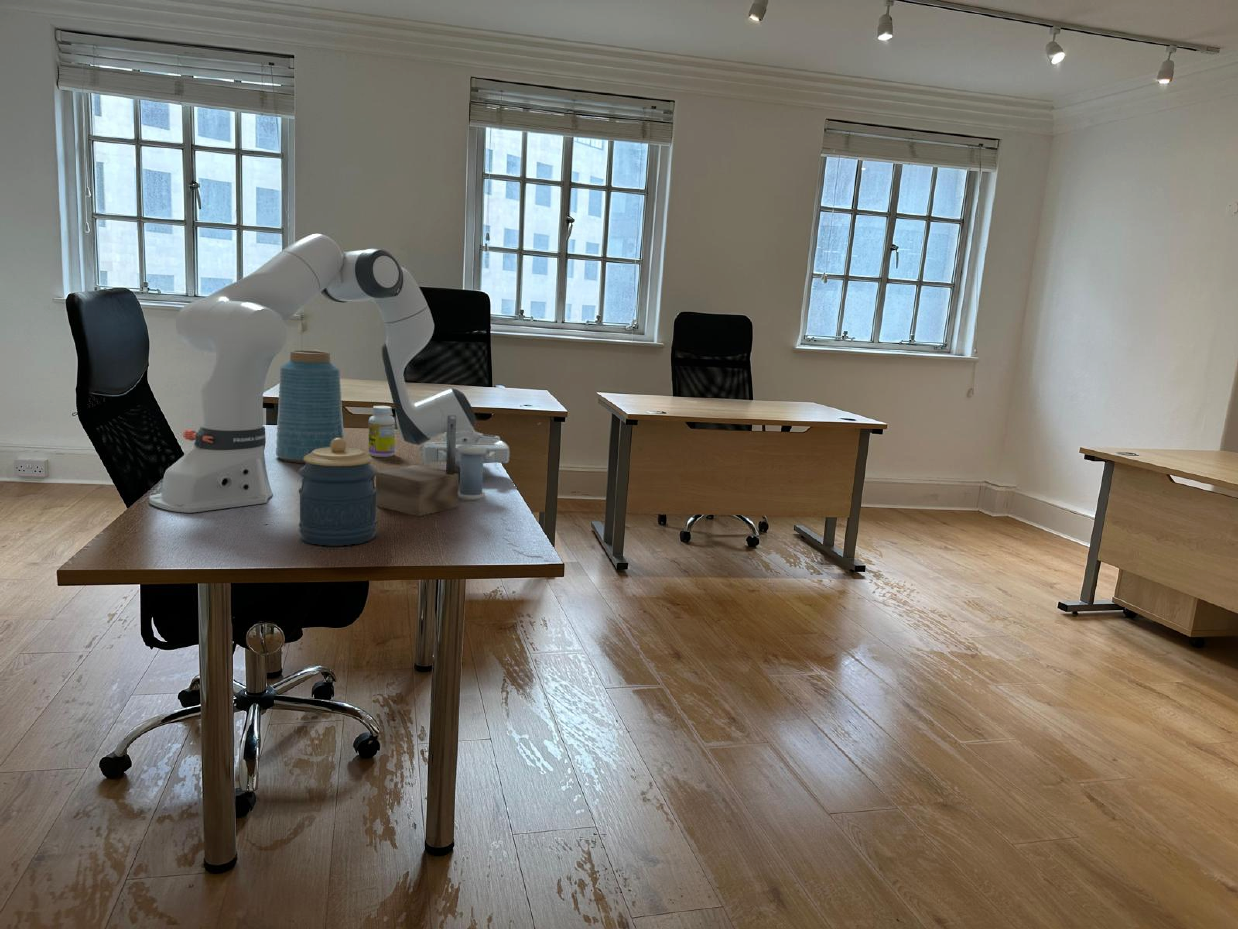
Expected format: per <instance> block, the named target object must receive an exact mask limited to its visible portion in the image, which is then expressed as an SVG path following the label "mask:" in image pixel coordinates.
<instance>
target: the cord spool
mask: <svg viewBox="0 0 1238 929" xmlns="http://www.w3.org/2000/svg"><path fill="white" fill-rule="evenodd" d="M458 452H459V453H461V462H460V466H459V469H460V470H459V471H460V472H459V490H458V498H460V499H459V500H461V499H463V500H462V501H469V500H475V501H481V500H480V499H482V500H484V499H485V498H486V495H485V494H486V493H485V492H484V491H483V476H484V474H483V473H484V463H483V454H485V453H486V447H484V446H479V445H461V446H458ZM484 497H485V498H484ZM483 498H484V499H483Z"/></svg>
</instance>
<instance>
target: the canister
mask: <svg viewBox="0 0 1238 929" xmlns="http://www.w3.org/2000/svg"><path fill="white" fill-rule="evenodd" d="M304 461H305V462H306V463H305V465H304V466H302V467H300V469H299V470H298V472H297V473H298V475H299V476H300V477H301V486H300V488H298V493H299V523H298V527H299V528H298V532H299V534H300V539H301V540H302V541H303V542H305V543H307V544H310V545H311V544H312V545H315V544H318V545H317V546H322V545H326V546H325V547H344V546H343V545H347V546H352V545H351V544H355V545H360V544H364V543H366V541H367V542H369V541H371V540H372V539H374V538H375V536H376V532H377V529H378V528H377V525H378V524H377V506H376V492H377V489H376V485H375V478H376V474H377V472H378V470H377V469H376V468H375V467H374V466H372V465H371V462H372V461H373V456H371V455H369V453H366V452H365V451H364V450H363V449H360V448H358V447H357V448H356V447H349V446H347V443H346V441H345V439H344V438H343V439H342V438H335V439H333V440H332V441H331V444H330V447H326V448H319V449H315V450H313V451H312V452H311V453H310V454H308V455H306V456H305V457H304ZM363 542H364V543H363Z"/></svg>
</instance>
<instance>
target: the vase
mask: <svg viewBox="0 0 1238 929" xmlns="http://www.w3.org/2000/svg"><path fill="white" fill-rule="evenodd" d="M289 354H290V356H289V361H287V362H286V363H284V364H283V365H281V366H279V368H280V369H279V371H280V373H279V387H278V388H279V390H278V406H277V407H278V410H277V412H278V413H277V421H276V423H277V426H276V430H277V431H276V441H275V443H276V447H275V455H276V456H277V457H278V458H279V459H281V460H283V461H284V462H290V463H293V462H294V463H295V464H306V462H305V461H304V457H305V456H306V455H308V454H310V453H311V452H312V451H313V450H315V449H319V448H326V447H330V444H331V441H332V440H333V439H335V438H342V439H344V437H345V432H344V421H343V410H342V409H343V408H342V407H343V406H342V405H343V403H342V392H341V391H342V390H341V387H342V386H341V375H340V372H341V370H340V368H339V367H338V366H337V365H335V364H333V363H332V362H331V354H330V352H329V351H323V350H313V349H312V350H310V349H308V350H307V349H306V350H305V349H300V350H299V349H296V350H291V351H290V352H289ZM294 463H293V464H294Z"/></svg>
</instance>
